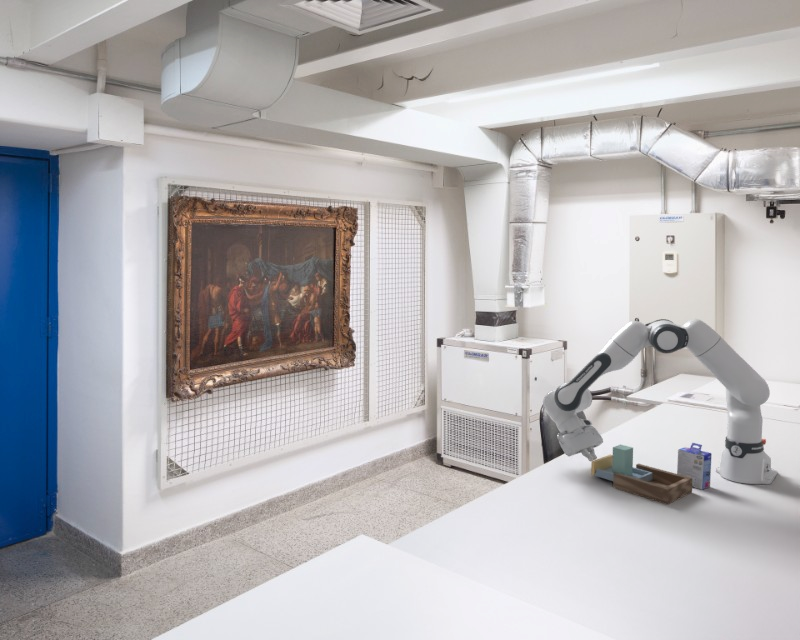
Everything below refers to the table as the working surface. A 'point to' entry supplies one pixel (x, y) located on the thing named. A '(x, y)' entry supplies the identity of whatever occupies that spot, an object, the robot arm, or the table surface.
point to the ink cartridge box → (695, 465)
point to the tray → (604, 470)
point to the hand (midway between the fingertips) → (593, 459)
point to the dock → (655, 485)
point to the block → (622, 460)
